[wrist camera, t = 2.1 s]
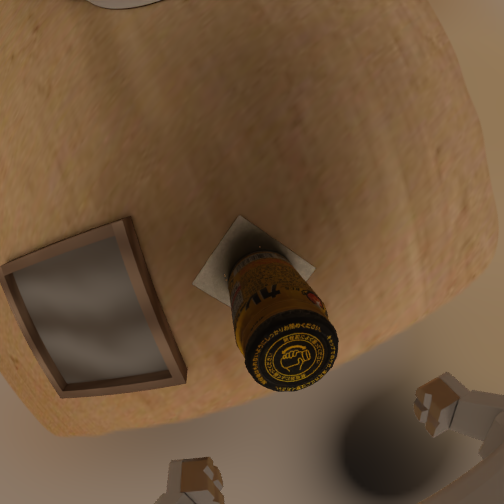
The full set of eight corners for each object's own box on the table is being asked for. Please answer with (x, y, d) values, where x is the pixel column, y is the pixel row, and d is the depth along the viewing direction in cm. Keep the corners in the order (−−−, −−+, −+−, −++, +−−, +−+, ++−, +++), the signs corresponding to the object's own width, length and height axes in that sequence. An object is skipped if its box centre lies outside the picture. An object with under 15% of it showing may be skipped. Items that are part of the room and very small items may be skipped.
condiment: (268, 328, 27) (300, 416, 16) (192, 283, 25) (176, 363, 14) (315, 267, 26) (380, 329, 15) (239, 214, 24) (260, 246, 13)
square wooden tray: (7, 262, 22) (-5, 268, 20) (130, 216, 23) (122, 219, 21) (67, 386, 27) (60, 398, 24) (187, 369, 27) (186, 383, 25)
